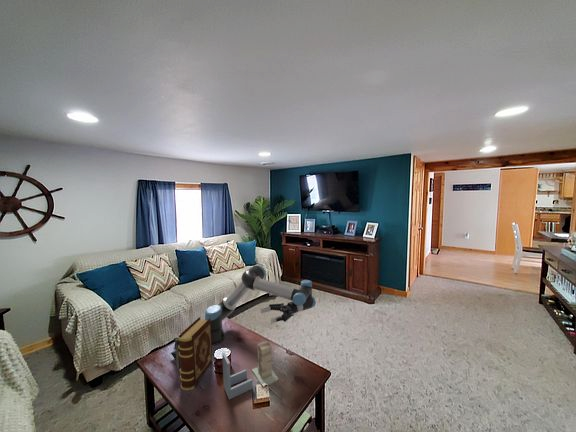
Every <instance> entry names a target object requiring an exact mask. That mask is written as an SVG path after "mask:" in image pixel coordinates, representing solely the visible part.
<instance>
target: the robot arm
mask: <svg viewBox="0 0 576 432" xmlns="http://www.w3.org/2000/svg"><path fill="white" fill-rule="evenodd" d="M265 277H266V270H265V268H264V267H263V265H261V264H255V265H252V267H250V268H248V269H247V270H245V271H244V272H243V273H242V274H241V282H240V283H239V284H238V285H237V286H236V288H234V290H233V291H232V292H231V293H230V294H229V295H227V296H225V297H224V298H223V299H222V300H221V301H220V302H219V303H218V304H213V305H210V306H208V307H207V308H206V309H205V312H204V320H208V319H209V318H210V321H211V340H212V346H215V345H218V344H220V343H222V342H223V341H224V340H225V338H226V332H225V330H224V329H223V321H224V320H225V319H227V318H228V316H229V315H231V314H232V313H234V311H235V309H236V307H237V305H238V303H239V302H240V301H241V299H243V298H244V297H245V295H246V294H247V293H248V292H249V291H250V290H251V291H260V292H263V293H267V294H271V296H276V297H280V298H283V299H286V300H288V301H289V302H287V304H284V303H282V302H281V303H274V304H273V303H271V304H270V303H269V305H268V306H267V307H264V308H261V309H260V314H261V315H262V314H265V313H269V312H271V311H277V312H278V311H279V312H281V313H282V315H277V316H275V317H272V318H270V324H275V323H277V322H284V323H285V322H287V321H288V320H289V319H290V318H291V317H294V316H295V314H297V313H300V312H303V311H305V310H309V309H312V308H314V307H315V306H316V304H317V302H316V298H315V297H314V296H313V282H312V280H309V279H303V280H301V281H300V288H299V289H297V288H293V287H290V286H287V285H284V284H280V283H276V282H273V281H271V280H270V281H269V280H268V279H264V278H265Z"/></svg>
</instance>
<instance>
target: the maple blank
mask: <svg viewBox="0 0 576 432" xmlns="http://www.w3.org/2000/svg"><path fill="white" fill-rule="evenodd" d="M272 359H273V357H272V345H271V344H270V343H269V342H268V340H265V341H263V342H260V343H257V367H258V373H259V375H260V376H261V378H262V379H265V378H267V377H269V376H271V375H272V371H273V367H272V365H273V363H272V361H273V360H272Z"/></svg>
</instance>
